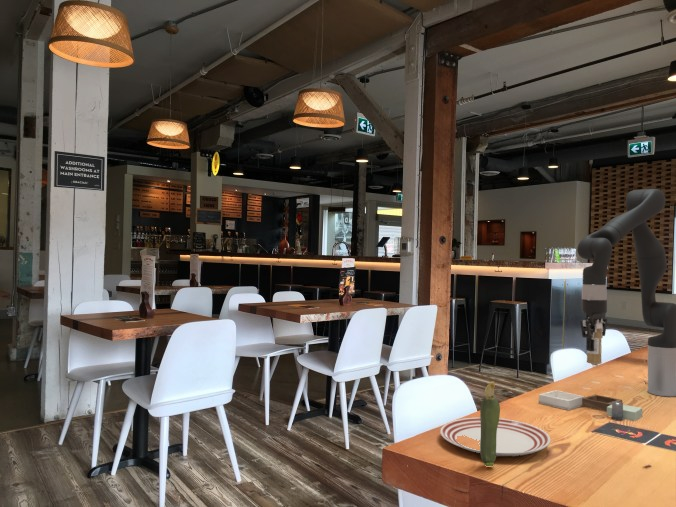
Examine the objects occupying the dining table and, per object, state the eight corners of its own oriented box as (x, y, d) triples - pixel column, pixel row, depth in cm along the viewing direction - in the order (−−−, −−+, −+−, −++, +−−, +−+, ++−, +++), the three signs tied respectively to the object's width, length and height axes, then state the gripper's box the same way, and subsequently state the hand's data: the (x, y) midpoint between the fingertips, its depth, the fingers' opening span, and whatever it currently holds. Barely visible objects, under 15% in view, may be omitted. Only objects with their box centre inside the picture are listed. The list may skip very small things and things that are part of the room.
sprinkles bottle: (604, 363, 174) (604, 322, 174) (596, 364, 171) (597, 323, 172) (591, 361, 178) (591, 321, 178) (583, 362, 175) (583, 321, 175)
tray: (555, 398, 184) (555, 390, 184) (584, 405, 176) (584, 396, 176) (538, 403, 178) (538, 394, 178) (568, 410, 170) (568, 401, 170)
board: (614, 412, 169) (614, 402, 170) (642, 417, 164) (642, 408, 164) (606, 416, 165) (606, 407, 165) (635, 422, 159) (635, 412, 159)
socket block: (595, 401, 181) (595, 394, 181) (622, 407, 173) (622, 400, 174) (581, 406, 175) (581, 398, 175) (609, 412, 168) (609, 404, 168)
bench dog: (614, 417, 163) (614, 400, 163) (624, 419, 160) (624, 402, 160) (610, 418, 161) (610, 402, 161) (620, 421, 159) (620, 404, 159)
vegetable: (477, 463, 124) (477, 377, 124) (495, 463, 125) (495, 377, 125) (484, 470, 120) (484, 382, 120) (502, 470, 120) (503, 382, 120)
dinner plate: (492, 472, 119) (492, 458, 119) (419, 436, 144) (419, 424, 144) (574, 453, 132) (574, 440, 132) (495, 423, 156) (495, 411, 156)
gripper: (593, 297, 182) (592, 346, 182) (572, 298, 174) (571, 350, 173) (615, 298, 177) (615, 349, 176) (595, 299, 168) (594, 353, 167)
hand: (593, 349), depth 175 cm, fingers closed on sprinkles bottle, 4 cm apart
